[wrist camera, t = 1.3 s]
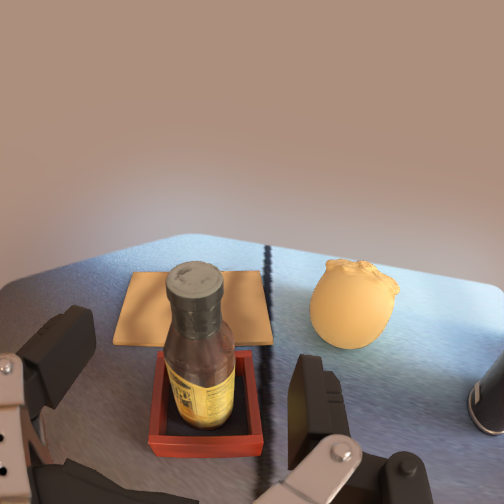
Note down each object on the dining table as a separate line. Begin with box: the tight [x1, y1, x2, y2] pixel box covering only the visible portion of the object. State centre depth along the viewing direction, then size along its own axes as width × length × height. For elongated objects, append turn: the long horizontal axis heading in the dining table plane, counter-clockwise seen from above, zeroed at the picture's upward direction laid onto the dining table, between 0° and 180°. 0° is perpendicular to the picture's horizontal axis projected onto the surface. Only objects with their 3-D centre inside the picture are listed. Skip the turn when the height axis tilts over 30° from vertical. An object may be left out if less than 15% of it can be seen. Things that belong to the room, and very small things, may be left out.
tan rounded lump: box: [310, 259, 400, 349], centre depth 42 cm, size 11×12×11 cm
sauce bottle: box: [163, 261, 235, 430], centre depth 27 cm, size 7×6×20 cm
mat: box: [113, 271, 273, 347], centre depth 47 cm, size 22×16×1 cm
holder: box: [148, 350, 264, 458], centre depth 31 cm, size 11×12×4 cm
